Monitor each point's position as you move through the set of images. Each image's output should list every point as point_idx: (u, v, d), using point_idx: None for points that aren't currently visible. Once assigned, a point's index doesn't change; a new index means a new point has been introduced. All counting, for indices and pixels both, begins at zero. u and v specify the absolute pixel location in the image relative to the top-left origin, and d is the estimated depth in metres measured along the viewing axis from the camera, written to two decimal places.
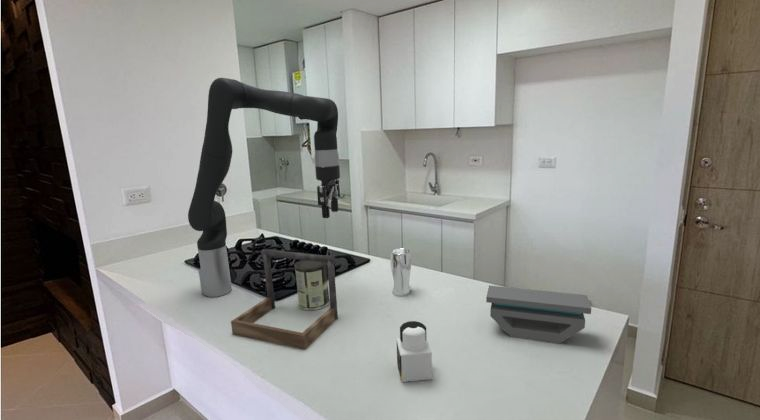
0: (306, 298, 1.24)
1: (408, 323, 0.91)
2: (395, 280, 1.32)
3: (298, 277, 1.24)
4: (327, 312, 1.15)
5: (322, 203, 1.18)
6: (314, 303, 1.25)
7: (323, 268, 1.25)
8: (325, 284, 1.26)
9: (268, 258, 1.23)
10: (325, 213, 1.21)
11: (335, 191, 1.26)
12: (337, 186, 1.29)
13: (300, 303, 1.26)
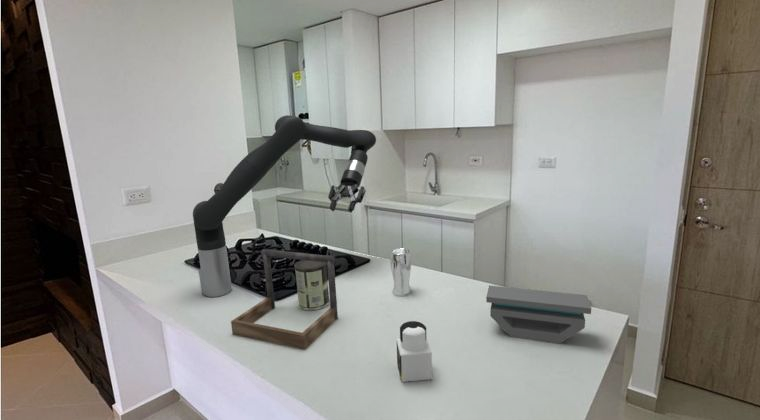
0: (306, 298, 1.24)
1: (408, 323, 0.91)
2: (395, 280, 1.32)
3: (298, 277, 1.24)
4: (327, 312, 1.15)
5: (360, 200, 1.44)
6: (314, 303, 1.25)
7: (323, 268, 1.25)
8: (325, 284, 1.26)
9: (268, 258, 1.23)
10: (353, 207, 1.43)
11: None
12: (335, 193, 1.51)
13: (300, 303, 1.26)
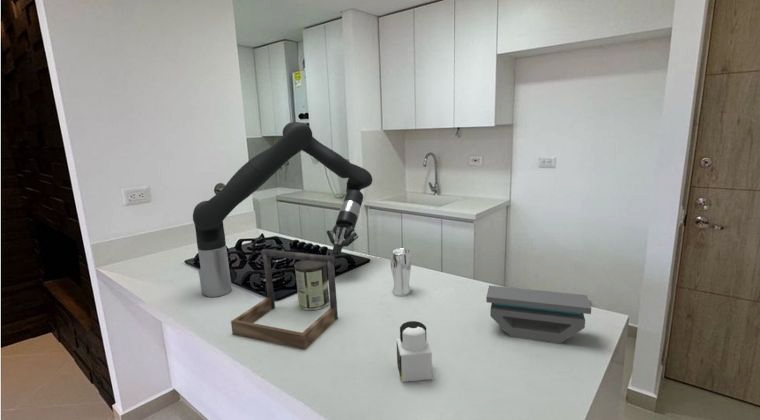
0: (306, 298, 1.24)
1: (408, 323, 0.91)
2: (395, 280, 1.32)
3: (298, 277, 1.24)
4: (327, 312, 1.15)
5: (346, 244, 1.44)
6: (314, 303, 1.25)
7: (323, 268, 1.25)
8: (325, 284, 1.26)
9: (268, 258, 1.23)
10: (340, 251, 1.43)
11: None
12: (332, 236, 1.49)
13: (300, 303, 1.26)
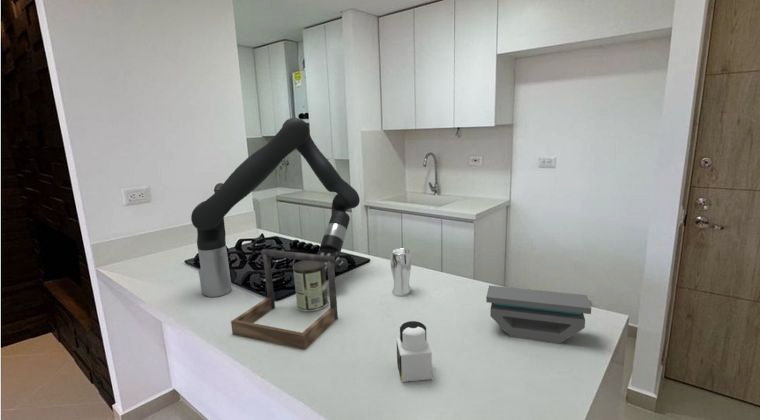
0: (305, 300, 1.23)
1: (408, 323, 0.91)
2: (395, 280, 1.32)
3: (297, 279, 1.23)
4: (327, 312, 1.15)
5: None
6: (313, 305, 1.24)
7: (322, 269, 1.24)
8: (324, 285, 1.26)
9: (268, 258, 1.23)
10: None
11: None
12: None
13: (299, 305, 1.25)
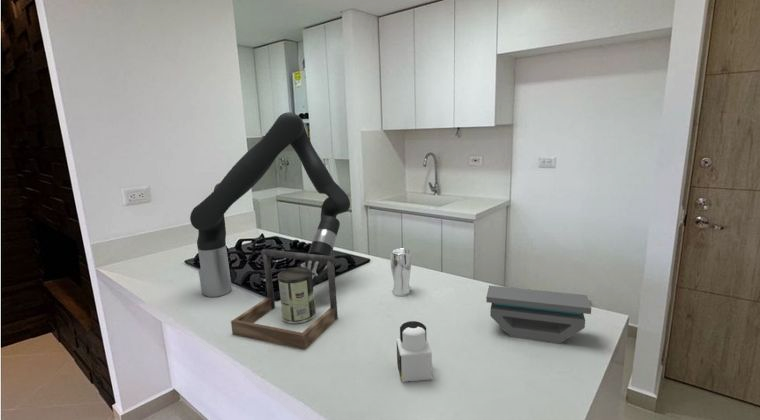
0: (290, 311, 1.16)
1: (408, 323, 0.91)
2: (395, 280, 1.32)
3: (282, 288, 1.16)
4: (327, 312, 1.15)
5: (319, 280, 1.27)
6: (299, 316, 1.17)
7: (308, 278, 1.17)
8: (311, 295, 1.18)
9: (268, 258, 1.23)
10: None
11: None
12: None
13: (284, 316, 1.18)
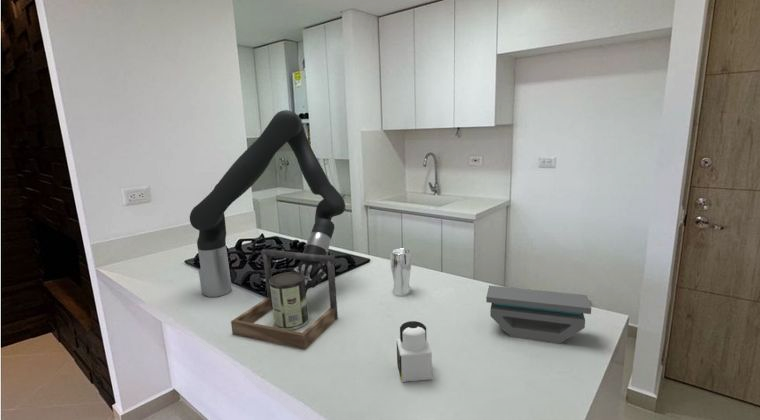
0: (282, 317, 1.13)
1: (408, 323, 0.91)
2: (395, 280, 1.32)
3: (273, 294, 1.12)
4: (327, 312, 1.15)
5: (312, 285, 1.23)
6: (291, 323, 1.13)
7: (301, 283, 1.13)
8: (303, 301, 1.15)
9: (268, 258, 1.23)
10: None
11: None
12: None
13: (276, 322, 1.15)
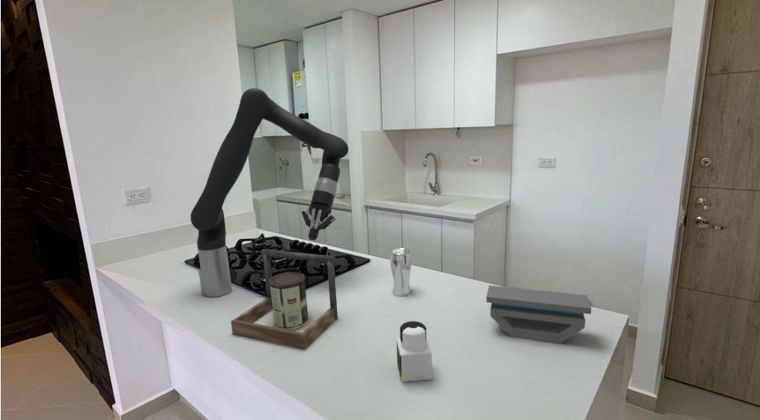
0: (282, 317, 1.13)
1: (408, 323, 0.91)
2: (395, 280, 1.32)
3: (273, 294, 1.12)
4: (327, 312, 1.15)
5: (323, 228, 1.35)
6: (291, 323, 1.13)
7: (301, 284, 1.13)
8: (303, 301, 1.15)
9: (268, 258, 1.23)
10: (316, 236, 1.35)
11: None
12: (308, 217, 1.39)
13: (276, 322, 1.15)
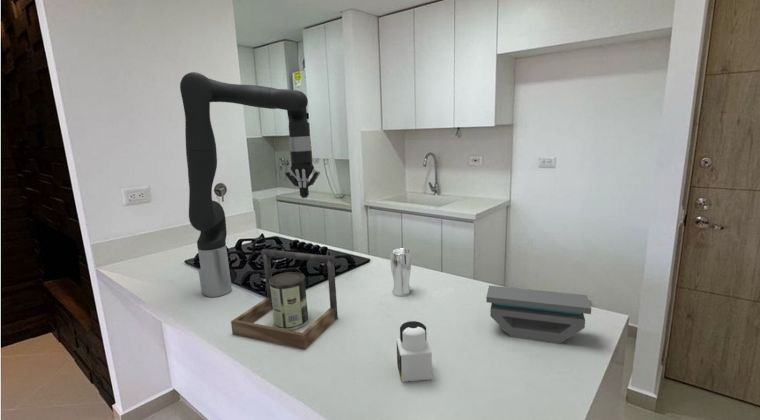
0: (282, 317, 1.13)
1: (408, 323, 0.91)
2: (395, 280, 1.32)
3: (273, 294, 1.12)
4: (327, 312, 1.15)
5: (311, 184, 1.41)
6: (291, 323, 1.13)
7: (301, 284, 1.13)
8: (303, 301, 1.15)
9: (268, 258, 1.23)
10: (308, 193, 1.42)
11: None
12: (293, 175, 1.43)
13: (276, 322, 1.15)
